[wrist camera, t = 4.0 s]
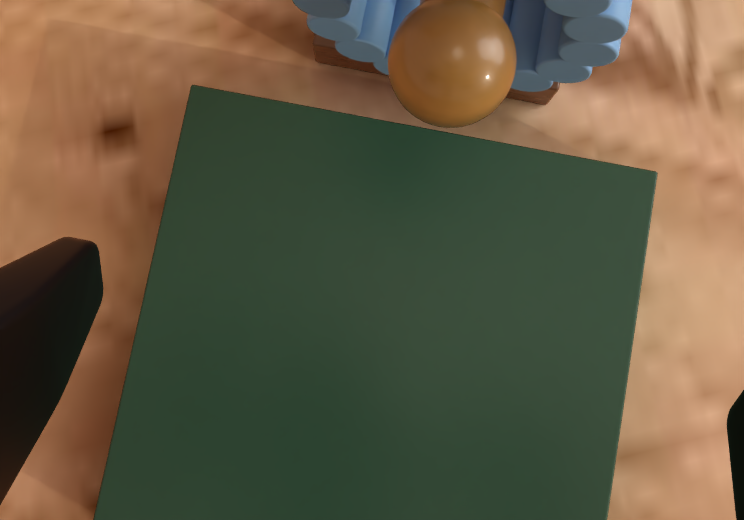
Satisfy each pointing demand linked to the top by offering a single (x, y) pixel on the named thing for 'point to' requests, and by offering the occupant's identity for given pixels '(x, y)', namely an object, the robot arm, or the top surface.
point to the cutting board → (377, 325)
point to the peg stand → (448, 62)
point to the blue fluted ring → (522, 15)
